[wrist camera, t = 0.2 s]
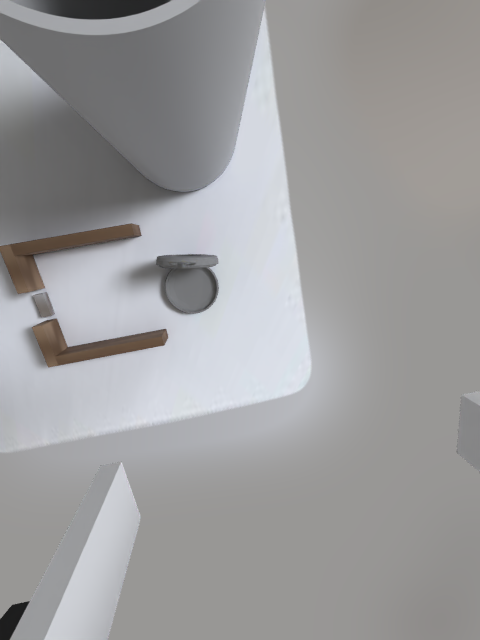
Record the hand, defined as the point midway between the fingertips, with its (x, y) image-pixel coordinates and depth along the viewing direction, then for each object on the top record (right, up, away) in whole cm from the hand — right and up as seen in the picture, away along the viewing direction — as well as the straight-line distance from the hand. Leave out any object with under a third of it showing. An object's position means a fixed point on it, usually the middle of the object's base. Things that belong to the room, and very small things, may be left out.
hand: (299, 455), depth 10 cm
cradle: (-20, +8, +23) cm, 32 cm away
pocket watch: (-8, +11, +24) cm, 28 cm away
